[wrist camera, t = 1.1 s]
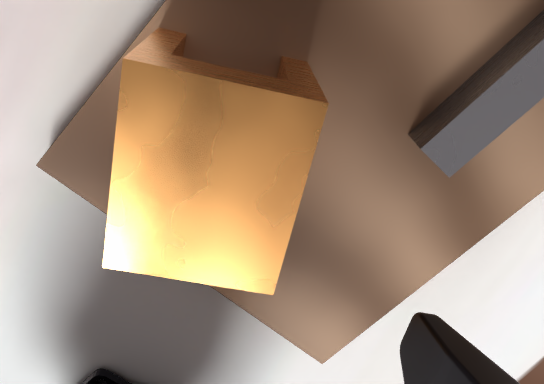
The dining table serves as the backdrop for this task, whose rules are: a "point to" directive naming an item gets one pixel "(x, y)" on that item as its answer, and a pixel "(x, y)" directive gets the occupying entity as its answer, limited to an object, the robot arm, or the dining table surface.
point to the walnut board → (349, 147)
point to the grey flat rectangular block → (486, 102)
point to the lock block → (208, 166)
